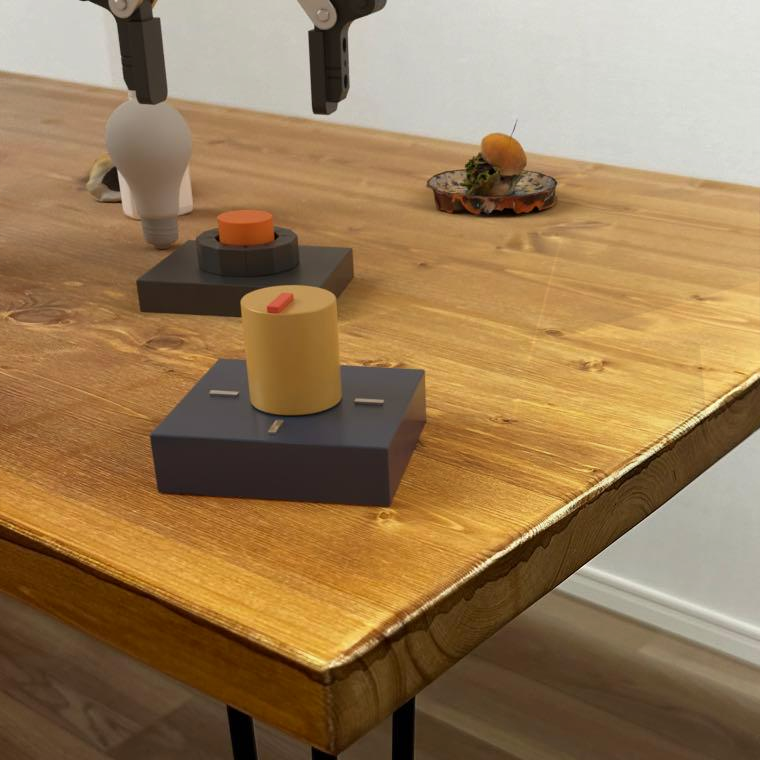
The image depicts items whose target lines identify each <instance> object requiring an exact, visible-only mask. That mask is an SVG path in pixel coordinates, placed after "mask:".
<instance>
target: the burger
mask: <svg viewBox="0 0 760 760" xmlns="http://www.w3.org/2000/svg"><path fill="white" fill-rule="evenodd" d="M517 122H518V118H516V121H515V124H514V126H513V130H512V132H511V134H510V135H508V134H506V133H503V132H492V133H489V134H487V135H486V136H484V137H482V139H481V142H480V149H478V151H477V152H476V155H472V158H471V159H470V158H469V159H468V162H467V163H464V169H462V168H461V169H453V170H446V171H445V170H444V171H441V172H440V173H436V174H434V175H433V176H431V177H430V178H429V179H428V180H427V181H426V185H425V187H426V188H429V189H431V190H432V192H433V197H434V203H435V208H436V210H437V211H441V210H442V211H443V212H448V213H453V212H454V208H455V207H454V202H460V203H461V204H462V206H463V207H464V208H465V209H466V210H467V211H468V212H470V213H473V214H475V215H480V214H481V213H482V212H483V213H485V214H486V215H489V214H490V213H492V212H493V210H495V211H497V210H498V211H500V212H502V211H504V209H508V210H509V209H512V210H513V212H515V214H517V215H519V214H521V213H529V212H531V211H532V210H534V208H535V207H537V208H538V211H541V210H545V209H548V208H551V207H553V206H554V205H556V204H557V203H558V200H559V197H558V196H557V195H556V188H557V186H558V181H557V180H556V179H555V178H554V177H553V176H551V175H550V176H549V175H546V174H544V173H541V172H539V171H538V172H537V171H529V170H525V168H526V167H527V165H528V160H527V159H528V158H527V154H526V152H525V150H524V148H523V146H522V144H521V143H520V142H519V140H517V139H516V138H515V137H513V134H514V132H515V129H516V127H517Z"/></svg>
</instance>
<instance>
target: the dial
mask: <svg viewBox="0 0 760 760" xmlns="http://www.w3.org/2000/svg"><path fill="white" fill-rule="evenodd" d="M337 305H338V304H337V300H336V297H335V295H334V294H333V293H331V292H330V291H327V290H325V289H321V288H317V287H311V286H301V285H284V286H274V287H267V288H263V289H259V290H255V291H253V292H250V293H248V294H246V295H245V296H244V297H243V298H242V299H241V313H242V317H241V322H242V323H241V324H242V333H243V341H244V352H245V360H246V363H247V373H248V383H249V393H250V401H251V403H252V405H253V406H254V407H255V408H257V409H258V410H261V411H263V412H266V413H270V414H276V415H306V414H313V413H317V412H321V411H324V410H327V409H329V408H332V407H333V406H335V405H336V404H338V403H339V402H340V400H341V398H342V387H341V371H340V365H341V356H340V339H339V338H340V337H339V323H338V320H339V319H338V306H337Z"/></svg>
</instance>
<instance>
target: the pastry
mask: <svg viewBox="0 0 760 760" xmlns="http://www.w3.org/2000/svg"><path fill="white" fill-rule="evenodd" d="M85 186H86V190H87V192H88V193H89V194H90V195H91V196H92V198H93V199H94V200H96V201H97V202H101V203H102V202H113V203H116V202H122V199H121V192H120V185H119V178H118V171H117V168H116V166H115V165H114V163H113V161H112V160H111V158H110V156H109V154H108V153H105V154H103V155H101V156H100V157H98V158H95V160H94V161H93V162H92V164H91V166H90V169H89V180H88V181H87V182H86V185H85Z"/></svg>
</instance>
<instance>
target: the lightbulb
mask: <svg viewBox="0 0 760 760" xmlns="http://www.w3.org/2000/svg"><path fill="white" fill-rule="evenodd" d="M104 142H105V148H106V151H107V154H109V156H110V158H111V160H112V161H113V163H114V165H115V166H116V168H117V169H118V171H119V172H120V174H121V175H122V176H123V178H124V179H125V181H126V183H127V184H128V186H129V188H130V190H131V193H132V196H133V199H134V202H135V207H136V212H137V214H138V215H140V217H141V220H140V224H141V227H142V229H141V230H142V233H143V237H144V238H143V239H144V241H145V242H146V243H148V244H149V245H153V246H154V247H155V248H156V249H158V250H166V249H167V250H168V249H169V248H170V247H171V245H172V244H174V243H176V242H177V241H178V240H179V222H178V216H177V214H178V213H179V210H180V209H179V193H180V186H181V182H182V178H183V176H184V173H185V171H186V169H187V166H188V163H190V160H191V157H192V156H193V155H192V154H193V146H194V145H193V144H194V143H193V136H192V133H191V130H190V127H189V125H188V123H187V121H186V119H185V118H184V117H183V115H182V114H181V112H179V111H178V110H177V109H176V108H175V107H173V106H172V105H171V104H169V103H167V101H163V102H161V103H158V104H156V105H148V104H139V103H138V101H137V98H134V99H131V100H129V99H128V100H126V101H124V102H123V103H121V104H120V105H119V106H117V107H116V108H115V109H114V110H113V112H112V113H111V114H110V116H109V118H108V119H107V122H106V127H105V131H104Z"/></svg>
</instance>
